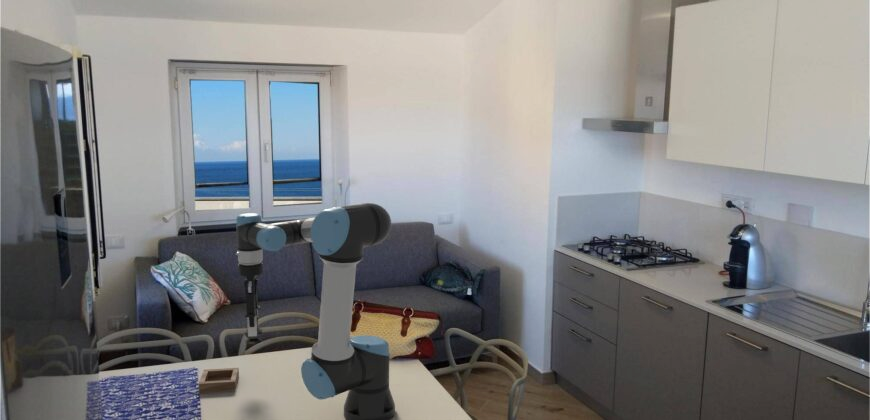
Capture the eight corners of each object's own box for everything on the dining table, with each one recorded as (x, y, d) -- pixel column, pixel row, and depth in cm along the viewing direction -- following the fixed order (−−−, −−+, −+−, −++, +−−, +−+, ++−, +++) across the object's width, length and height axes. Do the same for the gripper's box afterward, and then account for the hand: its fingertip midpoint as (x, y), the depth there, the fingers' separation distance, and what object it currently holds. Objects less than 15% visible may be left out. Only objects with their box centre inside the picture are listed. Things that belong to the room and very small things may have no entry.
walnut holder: (235, 391, 209) (235, 381, 208) (199, 393, 207) (198, 383, 206) (238, 376, 220) (238, 367, 219) (204, 379, 218) (203, 369, 217)
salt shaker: (257, 344, 209) (256, 308, 207) (240, 343, 210) (239, 307, 209) (266, 338, 215) (264, 303, 213) (249, 337, 216) (248, 301, 214)
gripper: (241, 256, 217) (244, 323, 221) (235, 270, 199) (238, 343, 202) (264, 255, 218) (267, 322, 222) (260, 269, 200) (263, 342, 204)
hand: (253, 332), depth 212 cm, fingers closed on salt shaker, 6 cm apart
